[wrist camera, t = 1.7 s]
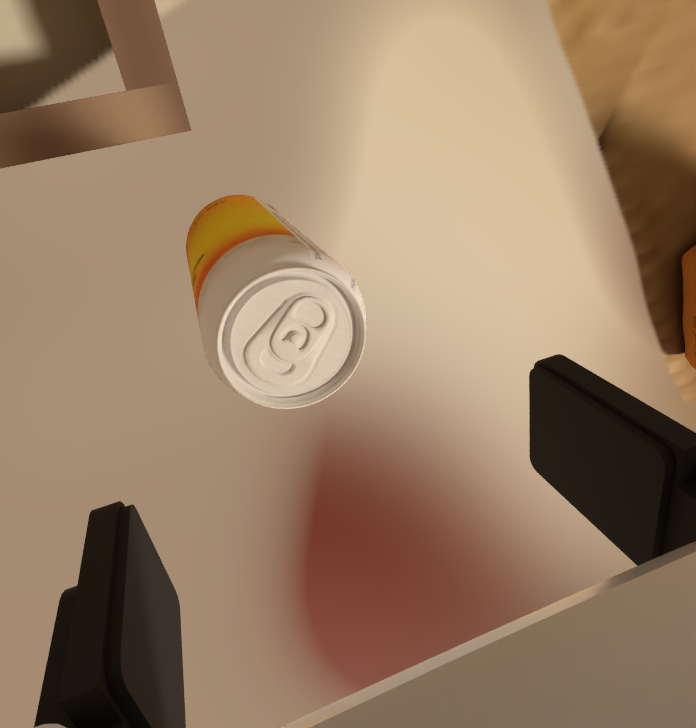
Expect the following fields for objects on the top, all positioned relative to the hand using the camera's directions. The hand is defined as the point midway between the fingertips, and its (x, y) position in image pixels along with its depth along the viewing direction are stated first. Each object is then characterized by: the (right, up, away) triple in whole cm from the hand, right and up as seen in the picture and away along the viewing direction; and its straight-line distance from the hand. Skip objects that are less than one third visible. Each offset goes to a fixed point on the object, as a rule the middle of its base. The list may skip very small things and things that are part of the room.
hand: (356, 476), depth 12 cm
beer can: (-7, +10, +19) cm, 23 cm away
